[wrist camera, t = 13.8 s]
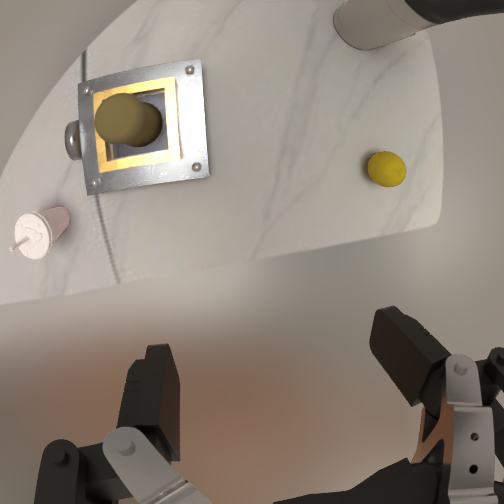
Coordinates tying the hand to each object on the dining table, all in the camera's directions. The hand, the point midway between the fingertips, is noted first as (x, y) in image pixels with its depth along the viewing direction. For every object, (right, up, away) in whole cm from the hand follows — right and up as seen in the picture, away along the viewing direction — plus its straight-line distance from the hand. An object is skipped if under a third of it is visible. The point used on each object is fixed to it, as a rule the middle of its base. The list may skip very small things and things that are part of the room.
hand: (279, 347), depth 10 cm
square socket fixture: (-16, +21, +25) cm, 36 cm away
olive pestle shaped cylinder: (-15, +20, +21) cm, 33 cm away
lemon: (+19, +18, +33) cm, 42 cm away
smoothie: (-31, +9, +27) cm, 42 cm away
